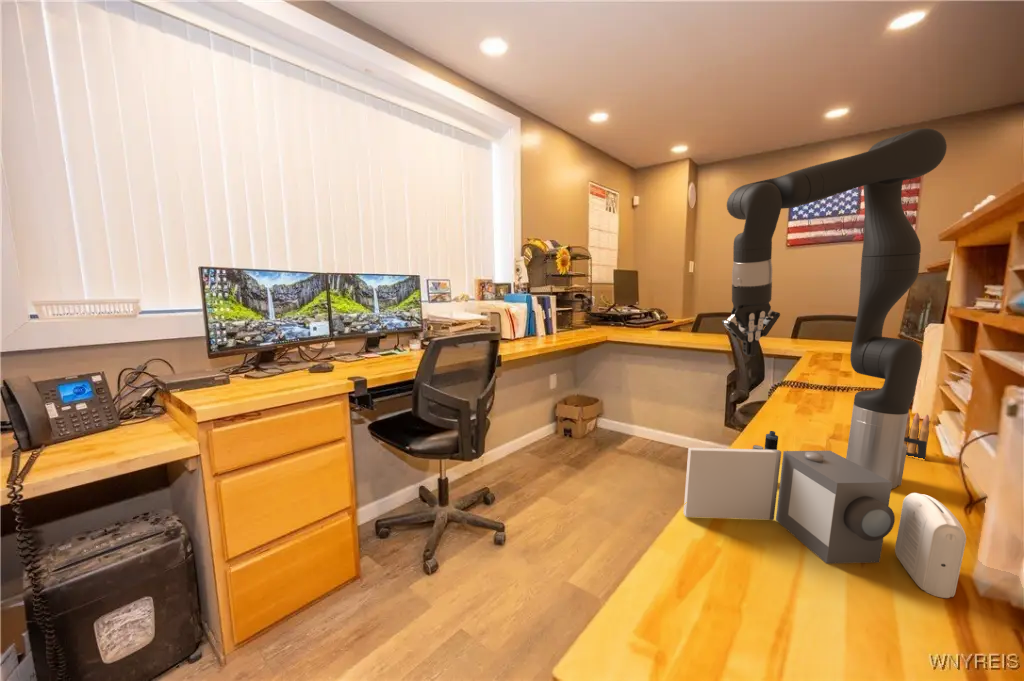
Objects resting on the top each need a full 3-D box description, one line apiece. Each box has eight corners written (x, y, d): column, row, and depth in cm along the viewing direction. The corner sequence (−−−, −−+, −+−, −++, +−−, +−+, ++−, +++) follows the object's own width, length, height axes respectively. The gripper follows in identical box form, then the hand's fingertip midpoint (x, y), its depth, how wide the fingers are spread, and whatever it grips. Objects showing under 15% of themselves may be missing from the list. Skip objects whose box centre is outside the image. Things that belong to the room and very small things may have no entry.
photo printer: (960, 603, 58) (975, 524, 56) (920, 593, 59) (934, 516, 58) (923, 558, 67) (935, 489, 65) (889, 551, 69) (900, 483, 67)
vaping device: (775, 485, 91) (781, 434, 89) (750, 482, 92) (755, 432, 90) (770, 479, 93) (776, 430, 92) (746, 477, 94) (750, 428, 93)
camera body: (821, 519, 78) (830, 446, 76) (893, 572, 64) (907, 485, 62) (775, 520, 78) (783, 447, 75) (837, 573, 63) (850, 485, 61)
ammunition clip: (870, 447, 112) (876, 406, 110) (871, 446, 113) (877, 404, 111) (924, 461, 104) (932, 416, 102) (925, 459, 105) (933, 414, 103)
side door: (775, 520, 77) (783, 452, 75) (685, 517, 77) (691, 450, 75) (769, 514, 79) (776, 448, 77) (682, 511, 79) (687, 446, 77)
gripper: (766, 273, 92) (764, 345, 97) (712, 283, 91) (713, 355, 96) (793, 277, 85) (789, 354, 90) (734, 288, 83) (734, 366, 89)
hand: (750, 355), depth 93 cm, fingers closed
